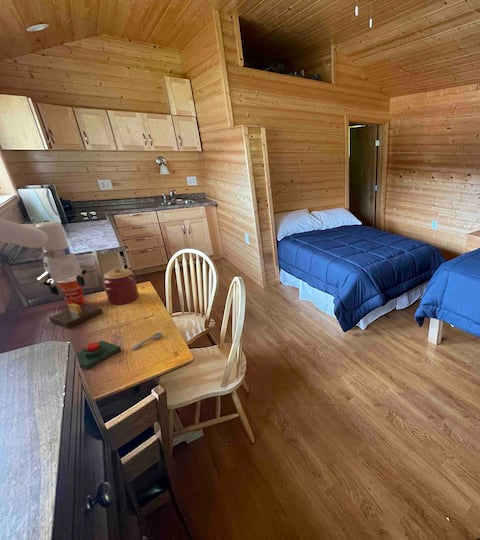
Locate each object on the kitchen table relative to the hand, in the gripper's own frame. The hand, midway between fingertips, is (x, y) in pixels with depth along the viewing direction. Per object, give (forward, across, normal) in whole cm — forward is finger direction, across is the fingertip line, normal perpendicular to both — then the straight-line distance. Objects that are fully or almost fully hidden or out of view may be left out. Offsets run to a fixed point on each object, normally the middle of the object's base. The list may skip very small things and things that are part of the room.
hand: (69, 289), depth 129 cm
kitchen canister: (+16, +23, +3) cm, 28 cm away
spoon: (+16, 0, -40) cm, 43 cm away
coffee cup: (+16, +10, +17) cm, 25 cm away
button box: (+16, -14, -31) cm, 37 cm away
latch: (+13, +2, +3) cm, 13 cm away
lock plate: (+16, +2, +3) cm, 16 cm away
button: (+12, -14, -31) cm, 36 cm away
